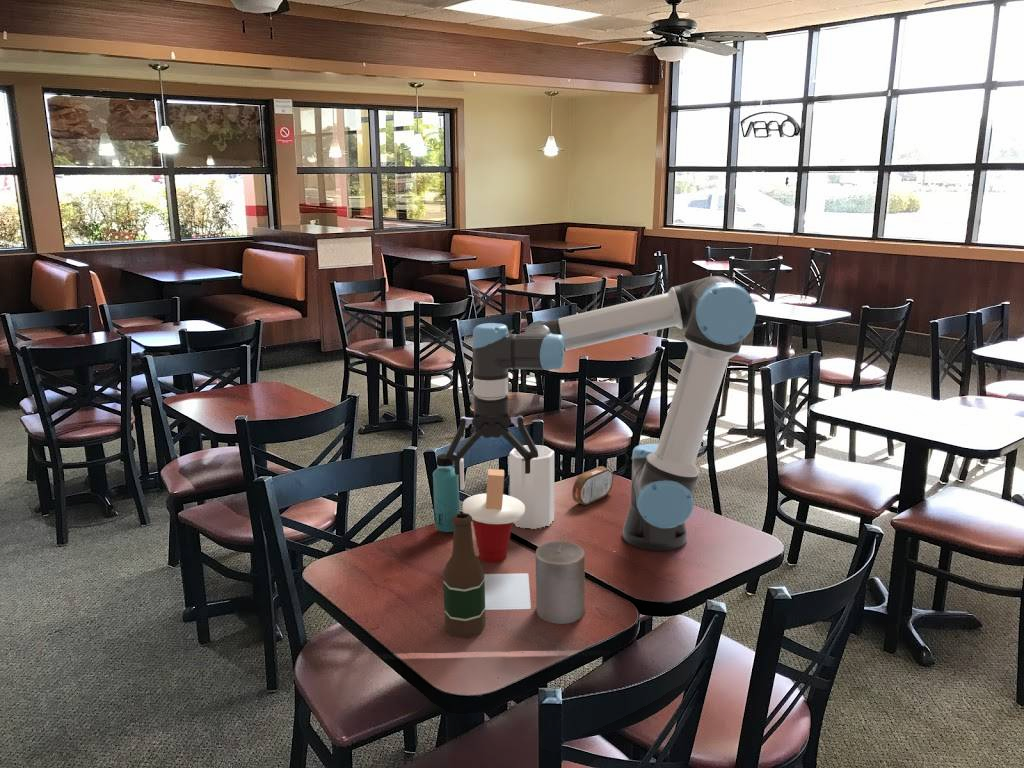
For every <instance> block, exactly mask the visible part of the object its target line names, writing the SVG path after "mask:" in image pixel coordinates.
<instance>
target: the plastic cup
mask: <svg viewBox="0 0 1024 768" xmlns="http://www.w3.org/2000/svg"><path fill="white" fill-rule="evenodd" d="M513 523H514V522H512V523H507V524H487V523H481V522H478V521H475V520H473V521H472V526H473V530H474V536H475V540H476V545H477V550H478V555H479V558H480V560H481V561H483V562H486V563H501V562H502V561H504V560H506V558H507V555H508V549H509V545H510V540H511V539H510V538H511V533H512V527H513V525H514V524H513Z"/></svg>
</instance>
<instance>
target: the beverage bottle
mask: <svg viewBox="0 0 1024 768" xmlns="http://www.w3.org/2000/svg"><path fill="white" fill-rule="evenodd" d="M435 465H436V466H438V467H437V468H436V469H435V470H434V471H433V472H432V478H433V479H432V480H433V482H432V483H433V484H432V485H433V491H432V492H433V506H434V509H433V511H434V517H433V518H434V520H433V522H434V526H435V529H436V530H437V531H440V532H444V533H445V532H446V533H449V532H454V523H453V522H452V520H453V517H454V516H455V515H456V514H459V513H461V504H460V480H459V475H456V474H455V467H453V465H454V461H453V460H452V459H447V458H446V453H441V454H438V455H437V456H436V463H435Z"/></svg>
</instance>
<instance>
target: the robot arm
mask: <svg viewBox="0 0 1024 768" xmlns="http://www.w3.org/2000/svg"><path fill="white" fill-rule="evenodd" d="M756 318H757V309H756V305H755V302H754V300H753V297H752V296H751V294H750V293H749V291H747V290H746V289H745V288H744V287H743V286H741V285H740V284H737V283H735V282H734V281H733V280H732V279H729V278H727V277H724V276H721V275H720V276H719V275H711V276H706V277H704V278H701V279H697V280H693V281H690V282H686V283H684V284H679V285H675V286H672V287H670V289H669V290H668V291H667V292H665V293H661V294H655V295H653V296H648V297H643V298H640V299H636V300H632V301H627V302H623V303H618V304H615V305H610V306H605V307H602V308H598V309H593V310H589V311H585V312H581V313H577V314H576V313H575V314H572V315H567V316H564V317H563V316H562V317H559V318H556V319H549V320H541V319H540V320H535V321H533V322H532V323H530V324H528V326H527V327H526V328H525V330H524V331H523V333H518V334H516V333H510V332H509V329H508V326H507V325H506V324H504V323H497V322H496V323H495V322H487V323H486V322H485V323H481V324H478V325H476V326H475V327H474V328H473V330H472V346H471V349H472V367H473V368H472V370H473V371H472V372H473V377H472V378H473V380H472V382H473V394H474V395H475V396H474V397H473V409H474V410H473V411H474V412H473V417H466V415H461V416H460V420H459V426H458V428H457V431H456V432H455V434H454V436H453V439H452V440H451V442H450V444H449V446H448V449H447V451H446V453H445V454H446V458H447V459H452V460H453V461H454V464H453V465H454V468H455V474H456V475H458V476H459V491H464V490H465V472H464V471H465V467H464V466H465V465H464V458H463V457H464V456H465V454H466V453H467V452H468V451H470V449H471V448H472V446H474V445H475V444H476V442H477V441H478V440H479V439H480V438H481V437H483V438H485V439H489V438H498V439H499V438H500V437H503V438H504V439H505V440H507V442H509V443H510V445H511V446H512V447H513V449H514V448H515V449H516V450H517V451H518V452H519V453H520V454H521V456H522V457H521V478H522V489H525V474H529V473H530V460H531V459H532V458H537V457H538V450H537V448H536V446H535V445H536V444H535V443H534V441H533V439H532V437H531V435H530V434H529V431H528V429H527V428H526V426H525V424H524V416H523V415H522V414H518V415H517V416H513V417H512V416H510V407H509V406H510V405H509V403H510V402H509V396H508V395H509V370H545V371H550V370H561V369H562V368H563V367H564V363H565V361H564V359H565V352H566V351H570V350H575V349H579V348H584V347H587V346H592V345H596V344H601V343H605V342H606V343H607V342H610V341H614V340H619V339H622V338H628V337H631V336H635V335H640V334H641V335H642V334H645V333H650V332H655V331H658V330H663V329H667V328H671V327H676V328H678V329H680V330H683V329H685V332H684V336H683V339H684V340H685V342H686V344H687V352H686V354H685V358H684V359H683V360H684V361H683V364H682V366H681V369H680V370H681V371H680V373H679V377H678V379H677V383H676V385H675V390H674V392H673V396H672V399H671V403H670V405H669V408H668V411H667V414H666V415H667V416H666V418H665V422H664V425H663V428H662V431H661V434H660V438H659V441H658V443H646V444H640V445H636V446H635V447H634V448H633V450H632V456H631V460H632V464H631V490H630V491H631V493H630V494H631V495H630V499H631V501H630V507H629V510H628V513H627V515H626V519H625V520H624V523H623V526H622V527H623V528H622V538H623V540H624V541H625V542H627V544H629V545H631V546H633V547H634V548H637V549H641V550H645V551H653V552H663V551H664V552H665V551H667V552H668V551H672V550H676V549H678V548H681V547H683V546H684V545H685V544H686V543H687V539H688V531H687V526H686V523H685V522H686V521H687V520H688V519H689V518H690V517H691V514H692V513H693V509H694V496H693V493H694V490H695V487H696V484H697V482H698V477H699V474H700V470H699V469H698V467H697V465H696V461H697V457H698V454H699V451H700V448H701V445H702V442H703V440H704V435H705V433H706V431H707V426H708V423H709V421H710V419H711V418H710V417H711V414H712V412H713V408H714V405H715V403H716V400H717V397H718V396H717V395H718V394H719V391H720V387H721V384H722V381H723V378H724V375H725V371H726V368H727V365H728V363H729V360H730V359H731V358H733V357H735V356H737V355H738V354H739V353H740V351H741V350H740V349H741V347H742V344H743V342H744V339H745V338H746V337H747V336H748V335H749V334H750V333H751V331H752V330H753V328H754V326H755V323H756ZM471 424H472V426H473V427H474V428H475V430H474V431H473V433H472V434H471V435H470V436H469V437H468V438H467V439H466V441H465V442H464V443H463V444H462V446H461V447H460V448H459V449H458V450H457V451H456V449H457V447H458V444H459V442H460V440H461V439H462V436H463V434H464V432H465V429H468V428H469V427H470V425H471ZM511 424H513V425H514V426H515V427H516V428H517V429H518V430H519V433H520V434H521V436H522V438H523V440H524V442H525V444H526V445H527V446H528V448H529V449H530V452H528V451H527V450H526V449H525V448H524V447H523V446H524V445H523V444H522V443H521V442H520V440H518V439H517V438H516V437H515V436H514V434H513V433H512V432H511V430H510V429H509V427H510V426H511ZM455 451H456V452H455Z"/></svg>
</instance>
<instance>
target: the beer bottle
mask: <svg viewBox="0 0 1024 768" xmlns="http://www.w3.org/2000/svg"><path fill="white" fill-rule="evenodd" d="M452 522H453V523H454V531H453V535H452V537H453V538H452V553H451V556H450V558H449V560H448V561H447V563H446V564H445V567H444V571H443V578H442V579H443V580H442V581H443V601H444V602H443V606H444V609H443V612H444V625H445V631H447V632H448V634H449V635H450V636H451V637H454V638H455V637H456V638H461V639H464V640H465V639H469V638H472V637H476V636H480V635H481V634H482V632H483V631H484V629H485V628H486V610H485V578H484V574H485V569H484V567H483V565H482V563H481V561H480V559H479V558H478V557H477V556H476V554H475V553H476V552H475V549H474V541H473V529H472V523H473V520H472V517H471V516H470V515H469V514H467V513H463V512H460V513H459V514H456V515H455V516H454V517H453V520H452Z"/></svg>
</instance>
